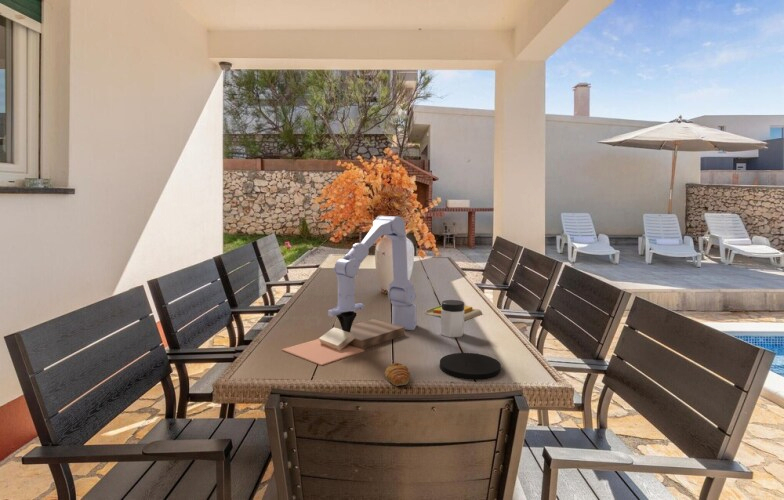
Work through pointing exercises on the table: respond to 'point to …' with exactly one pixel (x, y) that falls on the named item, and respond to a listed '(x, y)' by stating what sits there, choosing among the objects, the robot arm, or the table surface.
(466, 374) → the wireless charger
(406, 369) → the pastry
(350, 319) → the robot arm
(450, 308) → the jar
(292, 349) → the terracotta mat
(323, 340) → the birch tile
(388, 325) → the walnut board
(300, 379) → the table surface
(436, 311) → the wooden puzzle
